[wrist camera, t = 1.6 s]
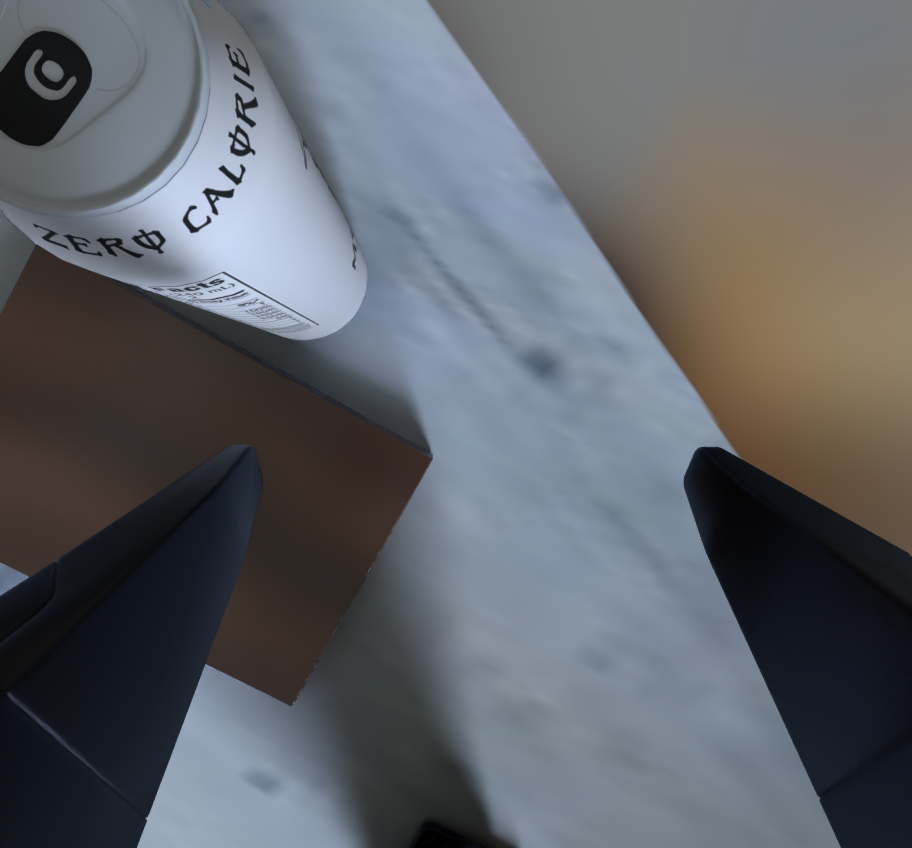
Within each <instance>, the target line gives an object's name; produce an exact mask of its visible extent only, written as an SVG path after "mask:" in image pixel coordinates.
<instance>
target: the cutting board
mask: <svg viewBox="0 0 912 848" xmlns="http://www.w3.org/2000/svg"><path fill="white" fill-rule="evenodd" d="M230 445H251V446H253V447H254V449H255V451H256V454H257V458H258V461H259V465H260V468H261V472H262V475H263V488H262V492H261V496H260V500H259V504H258V508H257V513H256V517H255V521H254V525H253V529H252V533H251V537H250V541H249V545H248V549H247V553H246V556H245V559H244V562H243V565H242V567H241V570H240V573H239V575H238V578H237V581H236V583H235V586H234V589H233V591H232V594H231V597H230V599H229V602H228V605H227V607H226V610H225V613H224V615H223V618H222V621H221V623H220V626H219V629H218V631H217V634H216V637H215V639H214V642H213V645H212V647H211V650H210V653H209V655H208V658H207V661H206V663H205V664H207V665H209V666H211V667H213V668H215V669H217V670H219V671H221V672H223V673H225V674H227V675H229V676H231V677H233V678H235V679H237V680H239V681H241V682H243V683H245V684H247V685H249V686H252V687H254V688H256V689H258V690H260V691H262V692H264V693H266V694H268V695H270V696H272V697H274V698H276V699H278V700H280V701H282V702H284V703H286V704H288V705H290V706H293V705H294V703H295V701H296V700H297V698H298V696H299V694H300V693H301V691H302V689H303V687H304V686H305V684H306V682H307V680H308V679H309V677H310V675H311V673H312V671H313V670H314V668H315V666H316V664H317V663H318V661H319V659H320V657H321V656H322V654H323V652H324V650H325V649H326V647H327V645H328V643H329V641H330V640H331V638H332V636H333V634H334V633H335V631H336V629H337V627H338V626H339V624H340V622H341V620H342V618H343V617H344V615H345V613H346V611H347V610H348V608H349V606H350V604H351V603H352V601H353V599H354V597H355V596H356V594H357V592H358V590H359V588H360V587H361V585H362V583H363V581H364V580H365V578H366V576H367V574H368V573H369V571H370V569H371V567H372V566H373V564H374V562H375V560H376V558H377V557H378V555H379V553H380V551H381V550H382V548H383V546H384V544H385V543H386V541H387V539H388V537H389V536H390V534H391V532H392V530H393V528H394V527H395V525H396V523H397V521H398V520H399V518H400V516H401V514H402V513H403V511H404V509H405V507H406V506H407V504H408V502H409V500H410V498H411V497H412V495H413V493H414V491H415V490H416V488H417V486H418V484H419V483H420V481H421V479H422V477H423V476H424V474H425V472H426V470H427V468H428V467H429V465H430V463H431V461H432V459H433V454H431V453H429V452H428V451H426V450H424V449H422V448H420V447H419V446H417V445H415V444H413V443H411V442H410V441H408V440H406V439H404V438H402V437H401V436H399V435H397V434H395V433H393V432H392V431H390V430H388V429H386V428H384V427H383V426H381V425H379V424H377V423H375V422H374V421H372V420H370V419H368V418H366V417H365V416H363V415H361V414H359V413H357V412H355V411H354V410H352V409H350V408H348V407H346V406H345V405H343V404H341V403H339V402H337V401H336V400H334V399H332V398H330V397H328V396H327V395H325V394H323V393H321V392H319V391H318V390H316V389H314V388H312V387H310V386H309V385H307V384H305V383H303V382H301V381H300V380H298V379H296V378H294V377H292V376H291V375H289V374H287V373H285V372H283V371H282V370H280V369H278V368H276V367H274V366H272V365H271V364H269V363H267V362H265V361H263V360H262V359H260V358H258V357H256V356H254V355H253V354H251V353H249V352H247V351H245V350H244V349H242V348H240V347H238V346H236V345H235V344H233V343H231V342H229V341H227V340H226V339H224V338H222V337H220V336H218V335H217V334H215V333H213V332H211V331H209V330H208V329H206V328H204V327H202V326H200V325H199V324H197V323H195V322H193V321H191V320H190V319H188V318H186V317H184V316H182V315H180V314H179V313H177V312H175V311H173V310H171V309H170V308H168V307H166V306H164V305H162V304H161V303H159V302H157V301H155V300H153V299H152V298H150V297H148V296H146V295H144V294H143V293H141V292H139V291H137V290H135V289H134V288H132V287H130V286H128V285H126V284H125V283H123V282H121V281H119V280H116V279H113V278H110V277H107V276H105V275H102V274H99V273H96V272H93V271H90V270H87V269H85V268H82V267H80V266H77V265H75V264H72V263H69V262H67V261H64V260H62V259H60V258H58V257H57V256H55V255H54V254H52V253H50V252H49V251H47V250H45V249H44V248H42V247H41V246H39V245H37V244H36V246H35V248H34V250H33V252H32V254H31V256H30V258H29V260H28V262H27V264H26V266H25V268H24V269H23V271H22V273H21V275H20V277H19V279H18V281H17V283H16V285H15V287H14V289H13V291H12V293H11V295H10V297H9V299H8V301H7V303H6V305H5V307H4V309H3V311H2V313H1V315H0V562H1V563H3V564H5V565H7V566H9V567H11V568H13V569H15V570H17V571H19V572H21V573H23V574H25V575H27V576H29V577H31V576H32V575H34V574H35V573H37V572H38V571H40V570H41V569H43V568H44V567H46V566H47V565H49V564H50V563H52V562H57V561H58V558H60V557H61V556H63V555H64V554H66V553H67V552H69V551H70V550H72V549H73V548H75V547H76V546H78V545H79V544H81V543H82V542H84V541H85V540H87V539H88V538H90V537H91V536H93V535H94V534H96V533H97V532H99V531H101V530H102V529H104V528H105V527H107V526H108V525H110V524H111V523H113V522H114V521H116V520H117V519H119V518H120V517H122V516H123V515H125V514H126V513H128V512H129V511H131V510H132V509H134V508H135V507H137V506H138V505H140V504H141V503H143V502H145V501H146V500H148V499H149V498H151V497H152V496H154V495H155V494H157V493H158V492H160V491H161V490H163V489H164V488H166V487H167V486H169V485H170V484H172V483H173V482H175V481H176V480H178V479H179V478H181V477H182V476H184V475H185V474H187V473H188V472H190V471H192V470H193V469H195V468H196V467H198V466H199V465H201V464H202V463H204V462H205V461H207V460H208V459H210V458H211V457H213V456H214V455H216V454H217V453H219V452H220V451H222V450H223V449H225V448H226V447H228V446H230Z"/></svg>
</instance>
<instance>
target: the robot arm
mask: <svg viewBox="0 0 912 848" xmlns="http://www.w3.org/2000/svg"><path fill="white" fill-rule="evenodd" d="M262 488H263V475H262V472H261V468H260V465H259V461H258V458H257V454H256V451H255V449H254V447H253V446H251V445H230V446H228V447H226V448H225V449H223V450H222V451H220V452H219V453H217V454H216V455H214V456H213V457H211V458H210V459H208V460H207V461H205V462H204V463H202V464H201V465H199V466H198V467H196V468H195V469H193V470H192V471H190V472H188V473H187V474H185V475H184V476H182V477H181V478H179V479H178V480H176V481H175V482H173V483H172V484H170V485H169V486H167V487H166V488H164V489H163V490H161V491H160V492H158V493H157V494H155V495H154V496H152V497H151V498H149V499H148V500H146V501H145V502H143V503H141V504H140V505H138V506H137V507H135V508H134V509H132V510H131V511H129V512H128V513H126V514H125V515H123V516H122V517H120V518H119V519H117V520H116V521H114V522H113V523H111V524H110V525H108V526H107V527H105V528H104V529H102V530H101V531H99V532H97V533H96V534H94V535H93V536H91V537H90V538H88V539H87V540H85V541H84V542H82V543H81V544H79V545H78V546H76V547H75V548H73V549H72V550H70V551H69V552H67V553H66V554H64V555H63V556H61V557H60V558H58V561H57V562H52V563H50V564H49V565H47V566H46V567H44V568H43V569H41V570H40V571H38V572H37V573H35V574H34V575H32V576H31V577H29V578H27V579H26V580H24V581H23V582H21V583H20V584H18V585H17V586H15V587H13V588H12V589H10V590H9V591H7V592H6V593H4V594H2V595H1V596H0V848H137V846H138V843H139V841H140V838H141V835H142V833H143V830H144V827H145V825H146V822H147V820H146V818H147V817H148V815H149V813H150V810H151V808H152V805H153V802H154V800H155V797H156V794H157V792H158V789H159V786H160V784H161V781H162V778H163V776H164V773H165V770H166V768H167V765H168V762H169V760H170V757H171V754H172V752H173V749H174V746H175V744H176V741H177V738H178V736H179V733H180V730H181V728H182V725H183V722H184V720H185V717H186V714H187V712H188V709H189V706H190V703H191V701H192V698H193V695H194V693H195V690H196V687H197V685H198V682H199V679H200V677H201V674H202V671H203V669H204V666H205V663H206V661H207V658H208V655H209V653H210V650H211V647H212V645H213V642H214V639H215V637H216V634H217V631H218V629H219V626H220V623H221V621H222V618H223V615H224V613H225V610H226V607H227V605H228V602H229V599H230V597H231V594H232V591H233V589H234V586H235V583H236V581H237V578H238V575H239V573H240V570H241V567H242V565H243V562H244V559H245V556H246V553H247V549H248V545H249V541H250V537H251V533H252V529H253V525H254V521H255V517H256V513H257V508H258V504H259V500H260V496H261V492H262ZM684 489H685V492H686V495H687V498H688V501H689V504H690V507H691V510H692V513H693V516H694V519H695V522H696V525H697V528H698V531H699V534H700V537H701V540H702V543H703V546H704V548H705V551H706V553H707V556H708V558H709V560H710V563H711V565H712V567H713V569H714V571H715V574H716V576H717V578H718V580H719V582H720V585H721V587H722V589H723V591H724V593H725V595H726V598H727V600H728V602H729V604H730V606H731V608H732V611H733V613H734V615H735V617H736V619H737V622H738V624H739V626H740V628H741V630H742V632H743V635H744V637H745V639H746V641H747V643H748V645H749V648H750V650H751V652H752V654H753V656H754V659H755V661H756V663H757V665H758V667H759V669H760V672H761V674H762V676H763V678H764V680H765V682H766V685H767V687H768V689H769V691H770V693H771V696H772V698H773V700H774V702H775V704H776V706H777V709H778V711H779V713H780V715H781V717H782V719H783V722H784V724H785V726H786V728H787V730H788V733H789V735H790V737H791V739H792V741H793V743H794V746H795V748H796V750H797V752H798V754H799V756H800V759H801V761H802V763H803V765H804V767H805V770H806V772H807V774H808V776H809V778H810V780H811V783H812V785H813V787H814V789H815V791H816V793H817V795H818V797H820V803H821V805H822V807H823V809H824V812H825V814H826V816H827V818H828V820H829V823H830V825H831V827H832V829H833V831H834V833H835V836H836V838H837V840H838V842H839V844H840V846H841V848H912V556H910V554H909V553H907V552H906V551H904V550H902V549H900V548H898V547H897V546H895V545H893V544H891V543H889V542H888V541H886V540H884V539H882V538H881V537H879V536H877V535H875V534H873V533H872V532H870V531H868V530H866V529H865V528H863V527H861V526H859V525H857V524H856V523H854V522H852V521H850V520H848V519H847V518H845V517H843V516H841V515H840V514H838V513H836V512H834V511H833V510H831V509H829V508H827V507H825V506H824V505H822V504H820V503H818V502H816V501H815V500H813V499H811V498H809V497H808V496H806V495H804V494H802V493H801V492H798V491H797V490H795V489H793V488H792V487H790V486H788V485H786V484H784V483H783V482H781V481H779V480H777V479H776V478H774V477H772V476H770V475H768V474H767V473H765V472H763V471H761V470H760V469H758V468H756V467H754V466H752V465H751V464H749V463H747V462H745V461H743V460H742V459H740V458H738V457H736V456H735V455H733V454H731V453H729V452H728V451H726V450H724V449H722V448H720V447H700V448H698V449H697V450H696V451H695V453H694V455H693V457H692V459H691V462H690V464H689V466H688V469H687V471H686V473H685V476H684ZM427 833H432V834H430V835H429V834H427ZM409 848H486V847H484V846H482V845H480V844H478V843H476V842H473V841H471V840H469V839H467V838H465V837H463V836H461V835H459V834H457V833H455V832H453V831H451V830H449V829H447V828H445V827H443V826H441V825H438V824H436V823H434V822H431V821H430V822H426V823H424V824H423V825H422V826H421V828H420V829H419V831H418V833H417V834H416V836H415V838H414V840H413V841H412V843H411V845H410V846H409Z"/></svg>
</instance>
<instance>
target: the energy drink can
mask: <svg viewBox="0 0 912 848" xmlns="http://www.w3.org/2000/svg"><path fill="white" fill-rule="evenodd" d="M0 208H1V210H2V211H3V212H4V214H5V215H6V216H7V218H8V219H9V220H10V221H11V222H12V223H13V224H14V225H16V226H17V227H18V228H19V229H20V230H21V231H22V232H23V233H24V234H25V235H27V236H28V237H29V238H30V239H31V240H32V241H33V242H34V243H36V244H37V245H39V246H41V247H42V248H44V249H45V250H47V251H49V252H50V253H52V254H54V255H55V256H57V257H58V258H60V259H62V260H64V261H67V262H69V263H72V264H75V265H77V266H80V267H82V268H85V269H87V270H90V271H93V272H96V273H99V274H102V275H105V276H107V277H110V278H113V279H116V280H119V281H122V282H125V283H128V284H131V285H134V286H137V287H140V288H142V289H145V290H148V291H151V292H154V293H157V294H160V295H163V296H166V297H169V298H172V299H175V300H178V301H180V302H183V303H186V304H189V305H192V306H195V307H198V308H201V309H204V310H207V311H210V312H213V313H215V314H218V315H221V316H224V317H227V318H230V319H233V320H236V321H239V322H242V323H245V324H248V325H250V326H253V327H256V328H259V329H262V330H265V331H268V332H271V333H274V334H277V335H280V336H283V337H285V338H290V339H296V340H313V339H318V338H322V337H325V336H328V335H330V334H332V333H335V332H336V331H338V330H339V329H341V328H342V327H343V326H345V325H346V324H347V323H348V322H349V321H350V320H351V319H352V318H353V317H354V315H355V314H356V312H357V311H358V309H359V307H360V306H361V304H362V301H363V298H364V295H365V292H366V286H367V266H366V262H365V257H364V254H363V252H362V249H361V247H360V245H359V243H358V241H357V239H356V237H355V235H354V233H353V231H352V229H351V228H350V226H349V224H348V222H347V220H346V218H345V216H344V214H343V212H342V210H341V209H340V207H339V205H338V203H337V201H336V199H335V197H334V195H333V193H332V191H331V190H330V188H329V186H328V184H327V182H326V180H325V178H324V176H323V174H322V172H321V171H320V169H319V167H318V165H317V163H316V161H315V159H314V157H313V155H312V154H311V152H310V150H309V148H308V146H307V144H306V142H305V140H304V138H303V136H302V135H301V133H300V131H299V129H298V127H297V125H296V123H295V121H294V119H293V117H292V116H291V114H290V112H289V110H288V108H287V106H286V104H285V102H284V100H283V98H282V97H281V95H280V93H279V91H278V89H277V87H276V85H275V83H274V81H273V79H272V78H271V76H270V74H269V72H268V70H267V68H266V66H265V64H264V62H263V60H262V59H261V57H260V55H259V53H258V51H257V49H256V47H255V46H254V44H253V43H252V42H251V40H250V39H249V37H248V36H247V34H246V33H245V31H244V30H243V29H242V27H241V26H240V24H239V23H238V21H237V20H236V19H235V18H234V17H233V16H232V15H231V14H230V13H229V12H228V11H227V10H226V9H225V8H224V7H223V6H222V5H221V4H220V3H219V2H218V1H217V0H0Z"/></svg>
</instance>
